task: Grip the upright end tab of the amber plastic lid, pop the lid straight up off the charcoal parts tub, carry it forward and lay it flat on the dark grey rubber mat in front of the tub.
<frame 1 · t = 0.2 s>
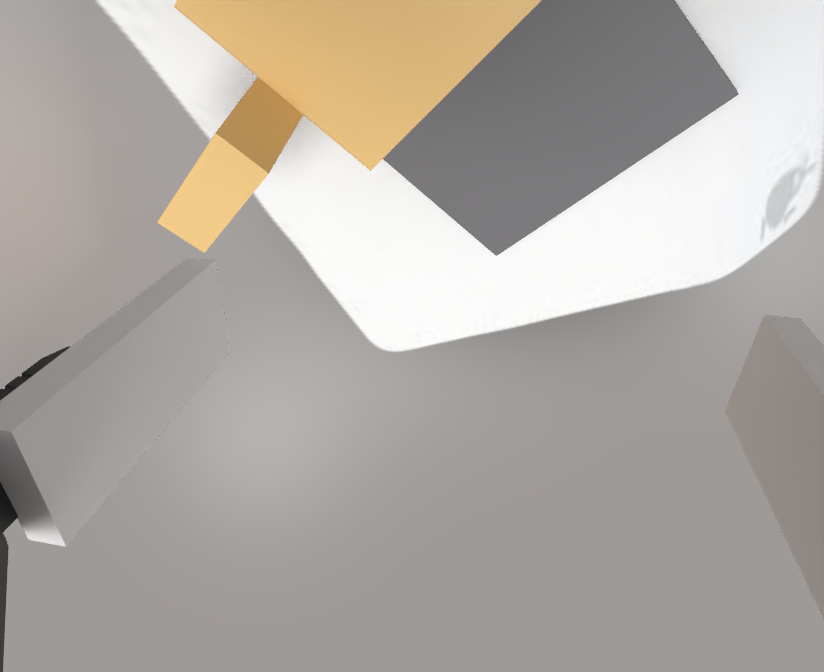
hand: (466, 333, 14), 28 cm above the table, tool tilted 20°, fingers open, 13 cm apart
grey rubber mat: (536, 119, 38), on the table
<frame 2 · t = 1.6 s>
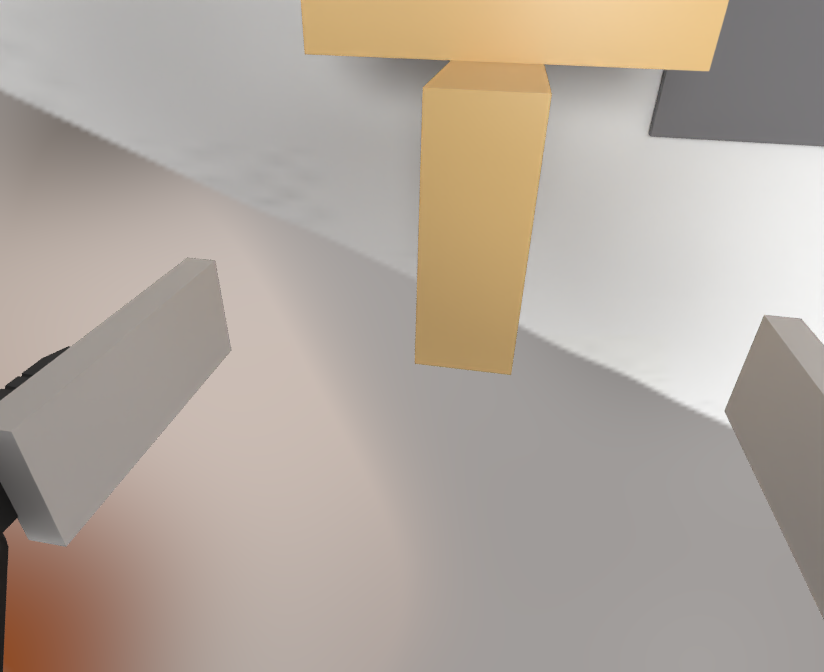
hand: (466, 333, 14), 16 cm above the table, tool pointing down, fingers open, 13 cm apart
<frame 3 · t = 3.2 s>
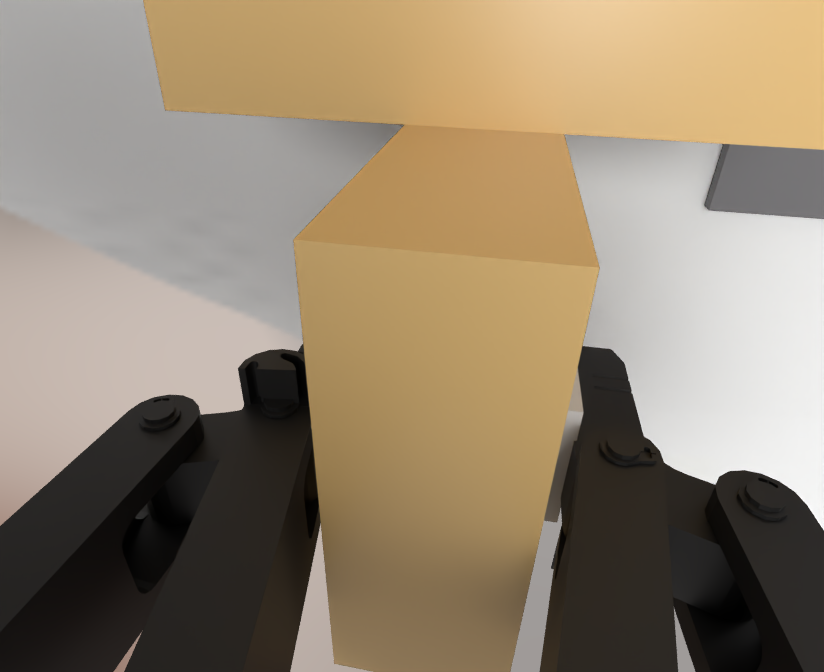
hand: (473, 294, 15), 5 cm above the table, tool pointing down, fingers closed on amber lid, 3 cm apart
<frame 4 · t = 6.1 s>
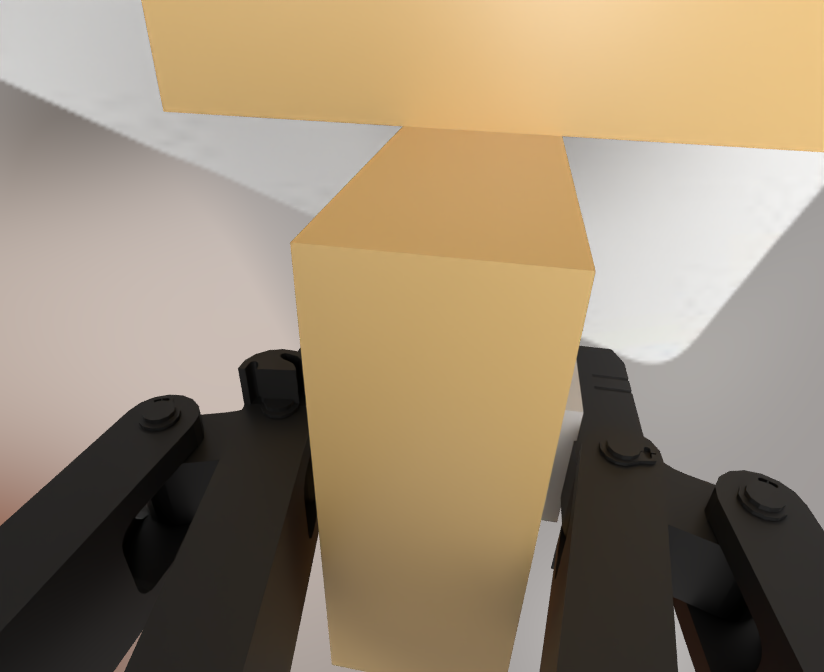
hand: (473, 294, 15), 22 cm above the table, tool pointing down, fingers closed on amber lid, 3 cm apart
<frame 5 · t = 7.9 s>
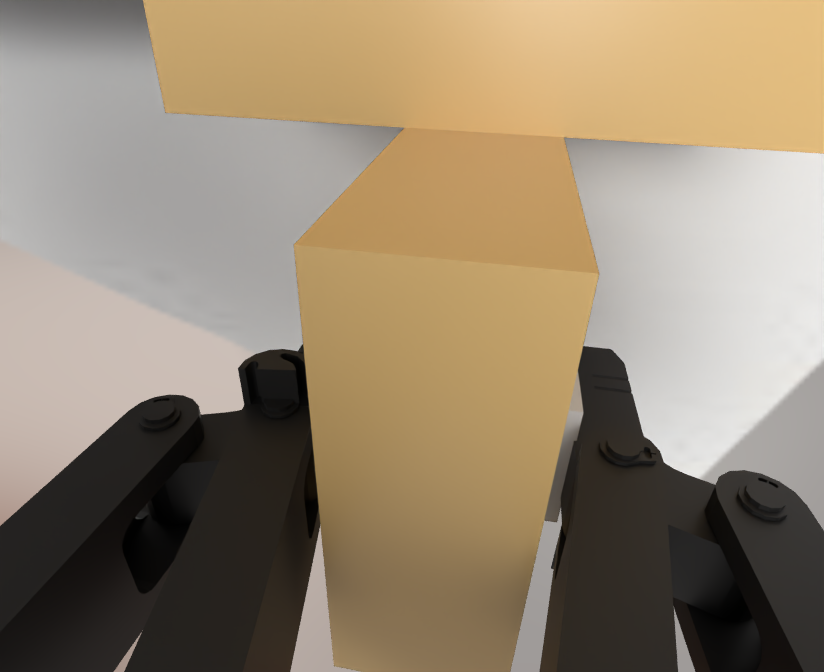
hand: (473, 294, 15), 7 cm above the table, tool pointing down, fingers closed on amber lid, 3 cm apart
when the fingers open (2 cm above the table, at t = 9.2 s): amber lid drops 2 cm, resting on grey rubber mat.
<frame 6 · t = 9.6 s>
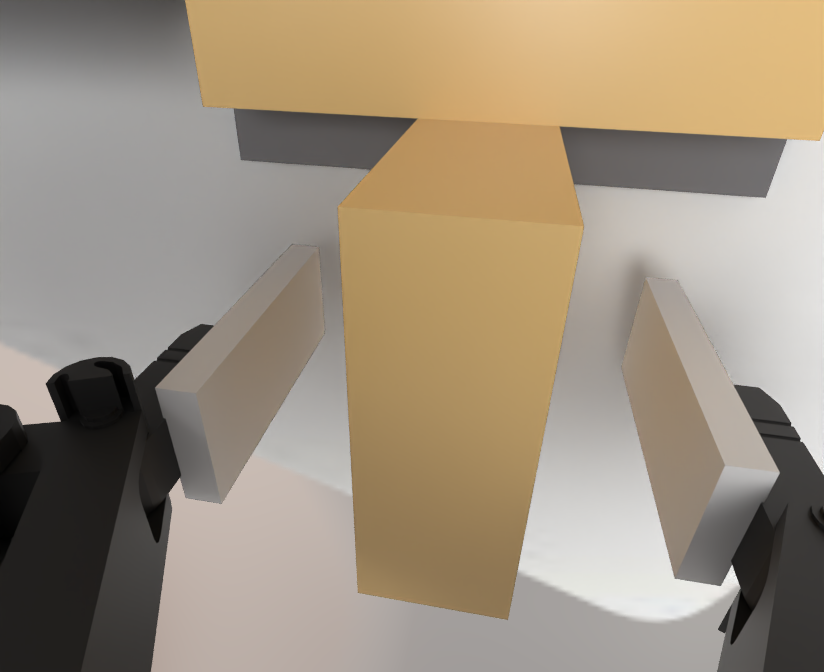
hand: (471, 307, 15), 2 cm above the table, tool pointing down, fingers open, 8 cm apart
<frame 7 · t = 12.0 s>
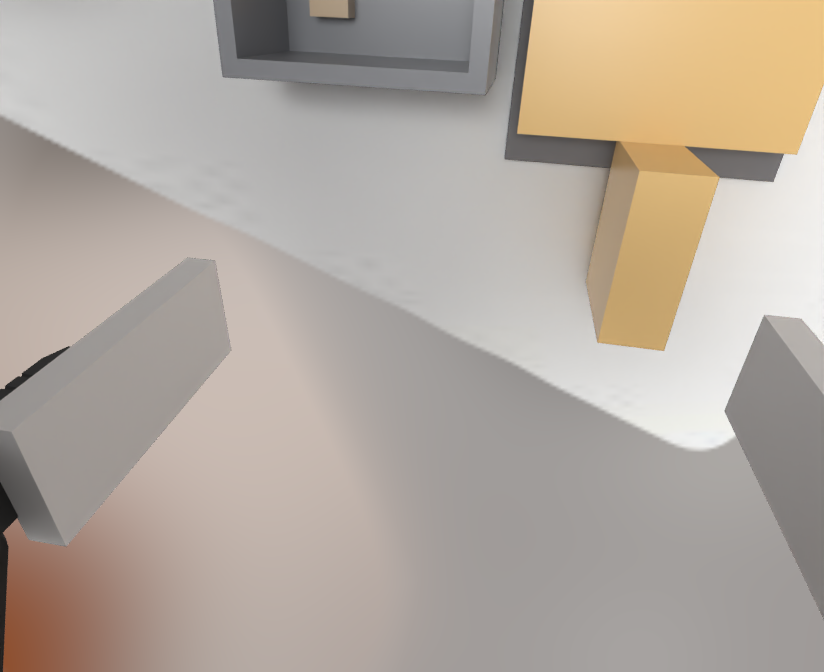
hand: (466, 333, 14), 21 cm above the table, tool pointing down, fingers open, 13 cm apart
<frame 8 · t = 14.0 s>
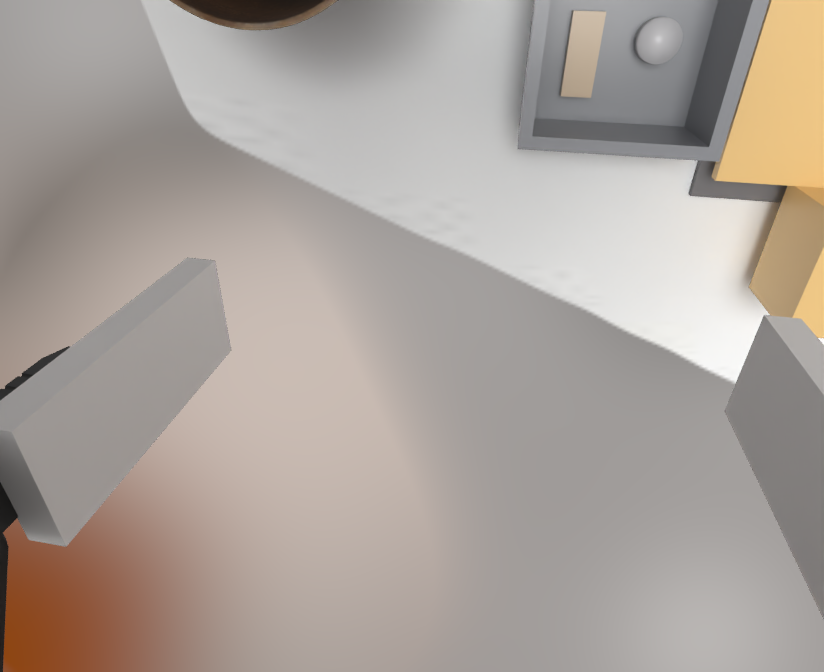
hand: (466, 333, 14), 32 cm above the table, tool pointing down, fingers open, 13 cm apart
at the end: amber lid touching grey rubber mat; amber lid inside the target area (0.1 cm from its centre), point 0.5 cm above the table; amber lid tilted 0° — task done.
